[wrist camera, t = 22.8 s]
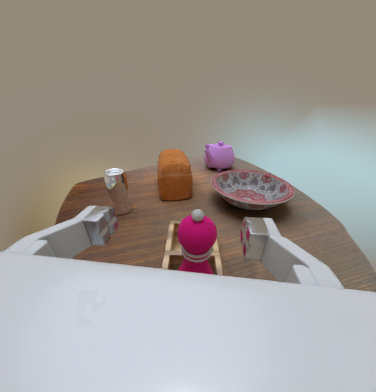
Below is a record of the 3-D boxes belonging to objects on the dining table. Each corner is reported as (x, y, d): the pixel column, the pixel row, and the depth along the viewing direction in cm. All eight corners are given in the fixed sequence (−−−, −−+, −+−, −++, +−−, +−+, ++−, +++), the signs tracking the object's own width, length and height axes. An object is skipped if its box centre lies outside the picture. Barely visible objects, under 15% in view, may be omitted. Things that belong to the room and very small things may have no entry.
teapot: (191, 166, 103) (191, 141, 96) (213, 160, 114) (214, 137, 107) (215, 176, 90) (218, 147, 83) (237, 168, 101) (241, 142, 94)
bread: (159, 202, 67) (155, 163, 59) (159, 176, 89) (156, 146, 82) (193, 199, 68) (194, 161, 61) (185, 175, 91) (184, 145, 83)
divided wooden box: (225, 328, 29) (230, 309, 27) (158, 327, 30) (154, 308, 27) (211, 237, 49) (213, 221, 46) (171, 237, 49) (170, 220, 46)
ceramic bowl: (202, 187, 78) (203, 171, 74) (261, 183, 82) (265, 168, 78) (223, 228, 53) (226, 207, 49) (307, 220, 56) (316, 199, 52)
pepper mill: (219, 307, 31) (233, 221, 22) (181, 319, 30) (178, 231, 20) (205, 274, 37) (211, 194, 28) (173, 282, 36) (167, 201, 26)
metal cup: (129, 216, 58) (121, 175, 51) (109, 215, 59) (98, 175, 51) (135, 205, 65) (128, 167, 57) (117, 205, 65) (108, 167, 57)
